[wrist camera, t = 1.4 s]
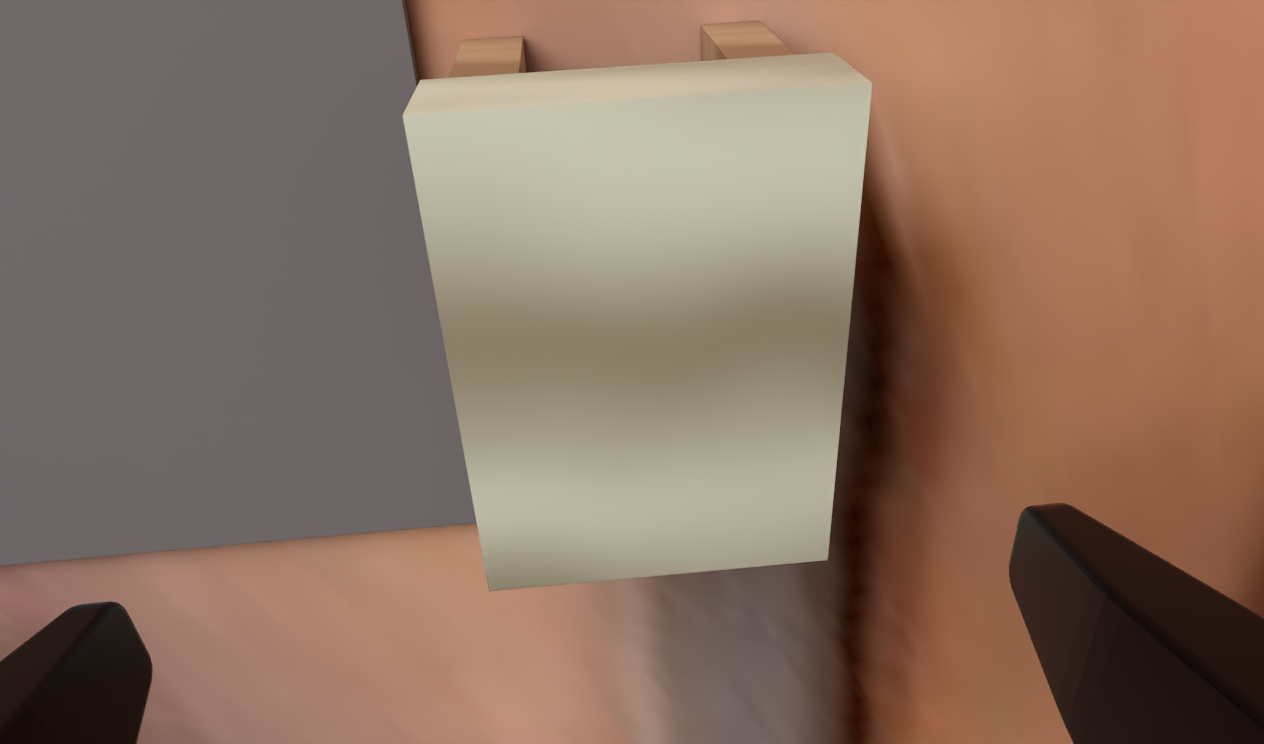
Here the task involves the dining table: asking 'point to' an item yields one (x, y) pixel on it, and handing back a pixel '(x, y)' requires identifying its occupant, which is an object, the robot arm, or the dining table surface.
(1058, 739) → the dining table surface
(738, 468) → the stool
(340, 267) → the felt pad
